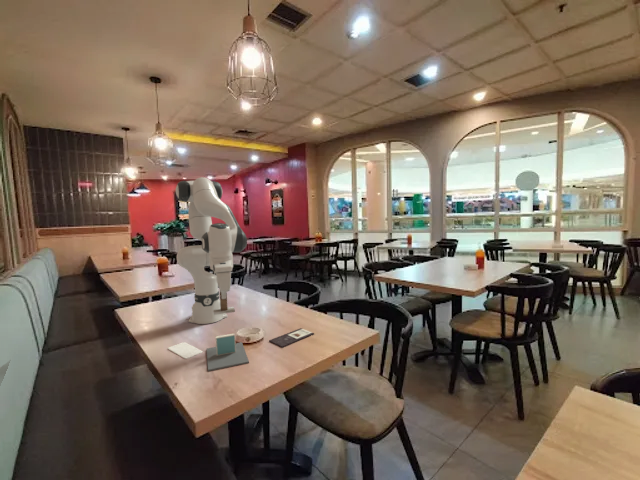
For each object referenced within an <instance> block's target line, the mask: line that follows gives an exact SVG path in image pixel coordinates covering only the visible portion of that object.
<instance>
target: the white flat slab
mask: <svg viewBox="0 0 640 480" xmlns="http://www.w3.org/2000/svg"><path fill="white" fill-rule="evenodd" d="M167 350H168V351H170V352H171V353H174V354H175V355H178V356H179V357H181V358H183V359H184V360H189V359H190V358H192V357H193V358H194V357H195V356H198V355H200V354H202V353H203V350H201V349H200V348H197V347H196V346H194V345H192V344H189V343H188V342H185V341H183V342H180V343H178V344H174V345H172V346H169V347H168V348H167Z"/></svg>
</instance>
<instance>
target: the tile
mask: <svg viewBox="0 0 640 480" xmlns="http://www.w3.org/2000/svg"><path fill="white" fill-rule="evenodd" d="M235 343H236V333H229V334H221V335H217V336H215V347H216V351H217V356H218V355H223V354H228V353H233V352H236V346H235Z"/></svg>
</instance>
